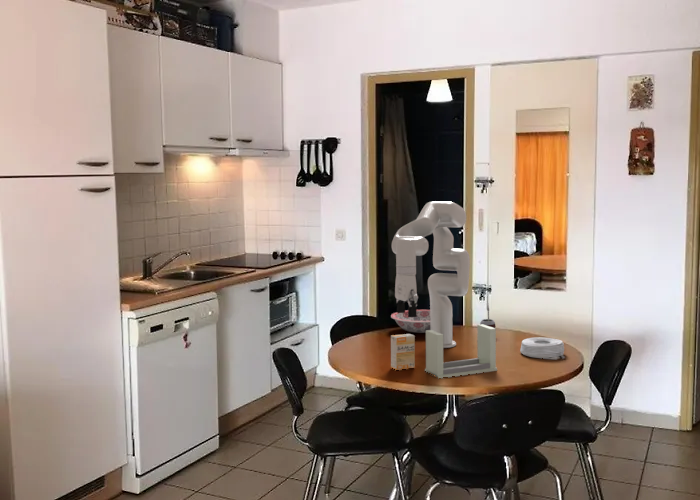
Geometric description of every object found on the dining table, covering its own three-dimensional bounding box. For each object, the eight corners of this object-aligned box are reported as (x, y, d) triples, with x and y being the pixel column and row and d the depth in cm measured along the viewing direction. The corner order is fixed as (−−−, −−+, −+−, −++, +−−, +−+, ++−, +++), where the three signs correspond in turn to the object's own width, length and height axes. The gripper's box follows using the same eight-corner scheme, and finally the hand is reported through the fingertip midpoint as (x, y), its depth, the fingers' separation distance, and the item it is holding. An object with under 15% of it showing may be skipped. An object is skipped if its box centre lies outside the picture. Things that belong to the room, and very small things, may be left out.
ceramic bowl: (387, 326, 358) (387, 310, 357) (446, 324, 360) (446, 308, 359) (394, 339, 329) (394, 322, 329) (458, 337, 331) (458, 320, 330)
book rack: (424, 371, 275) (424, 330, 274) (481, 363, 285) (481, 323, 283) (439, 378, 265) (438, 335, 263) (497, 370, 274) (497, 329, 273)
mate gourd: (486, 340, 325) (486, 306, 324) (475, 336, 332) (475, 304, 330) (499, 337, 329) (499, 305, 327) (487, 334, 336) (487, 302, 334)
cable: (566, 360, 288) (566, 345, 287) (520, 359, 291) (520, 344, 290) (562, 350, 305) (562, 336, 304) (519, 349, 308) (519, 335, 307)
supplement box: (396, 371, 276) (395, 337, 275) (390, 368, 281) (390, 335, 279) (415, 368, 280) (415, 335, 278) (409, 365, 284) (409, 332, 283)
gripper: (387, 268, 283) (388, 312, 285) (407, 273, 267) (407, 319, 269) (404, 267, 286) (405, 310, 288) (425, 272, 270) (425, 317, 272)
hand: (406, 314), depth 278 cm, fingers open, 9 cm apart
